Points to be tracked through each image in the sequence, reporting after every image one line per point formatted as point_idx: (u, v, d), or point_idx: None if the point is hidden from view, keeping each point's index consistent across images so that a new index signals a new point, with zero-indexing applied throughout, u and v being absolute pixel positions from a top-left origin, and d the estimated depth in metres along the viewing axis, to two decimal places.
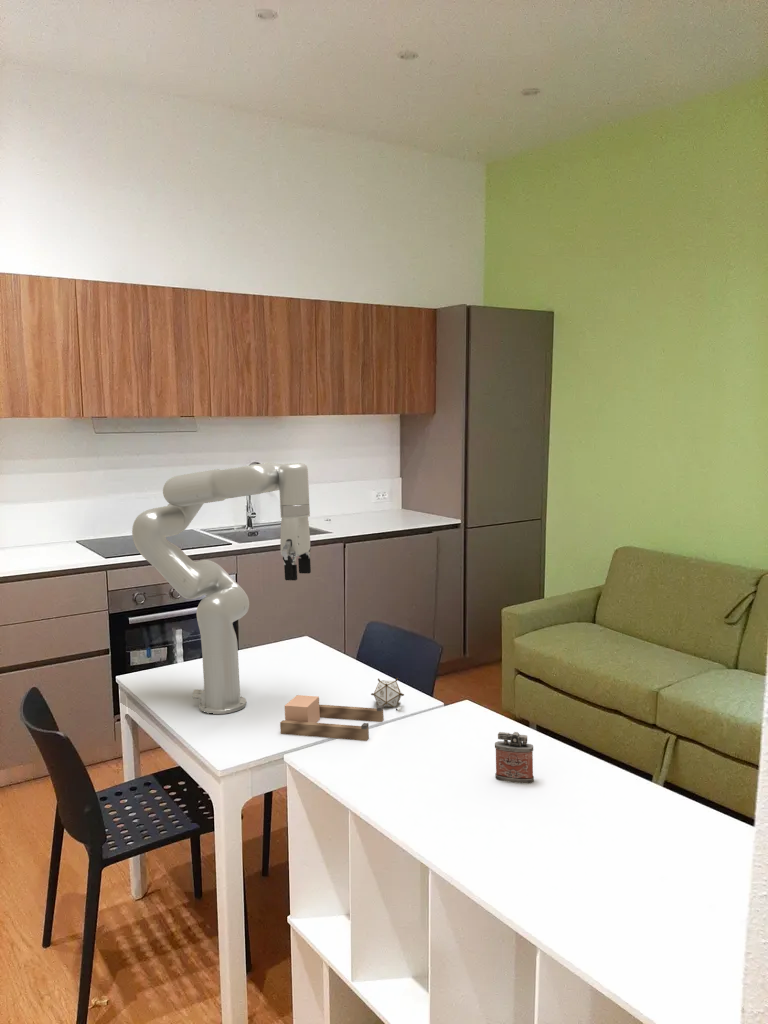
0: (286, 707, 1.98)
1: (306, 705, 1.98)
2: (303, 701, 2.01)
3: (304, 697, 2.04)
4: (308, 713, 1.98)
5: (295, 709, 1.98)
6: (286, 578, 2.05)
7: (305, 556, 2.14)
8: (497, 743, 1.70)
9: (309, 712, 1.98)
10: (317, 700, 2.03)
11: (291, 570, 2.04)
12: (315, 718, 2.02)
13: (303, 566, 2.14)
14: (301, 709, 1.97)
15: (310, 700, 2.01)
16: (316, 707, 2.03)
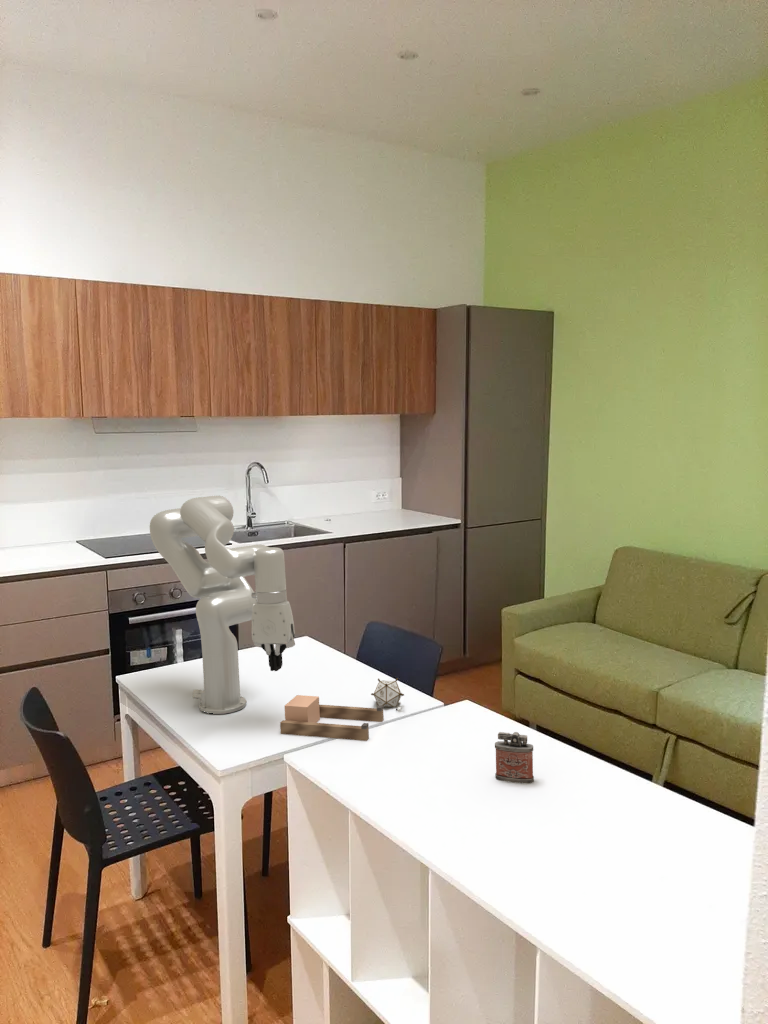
0: (286, 707, 1.98)
1: (306, 705, 1.98)
2: (303, 701, 2.01)
3: (304, 697, 2.04)
4: (308, 713, 1.98)
5: (295, 709, 1.98)
6: (276, 669, 2.01)
7: (274, 651, 2.02)
8: (497, 743, 1.70)
9: (309, 712, 1.98)
10: (317, 700, 2.03)
11: (281, 658, 2.02)
12: (315, 718, 2.02)
13: None
14: (301, 709, 1.97)
15: (310, 700, 2.01)
16: (316, 707, 2.03)
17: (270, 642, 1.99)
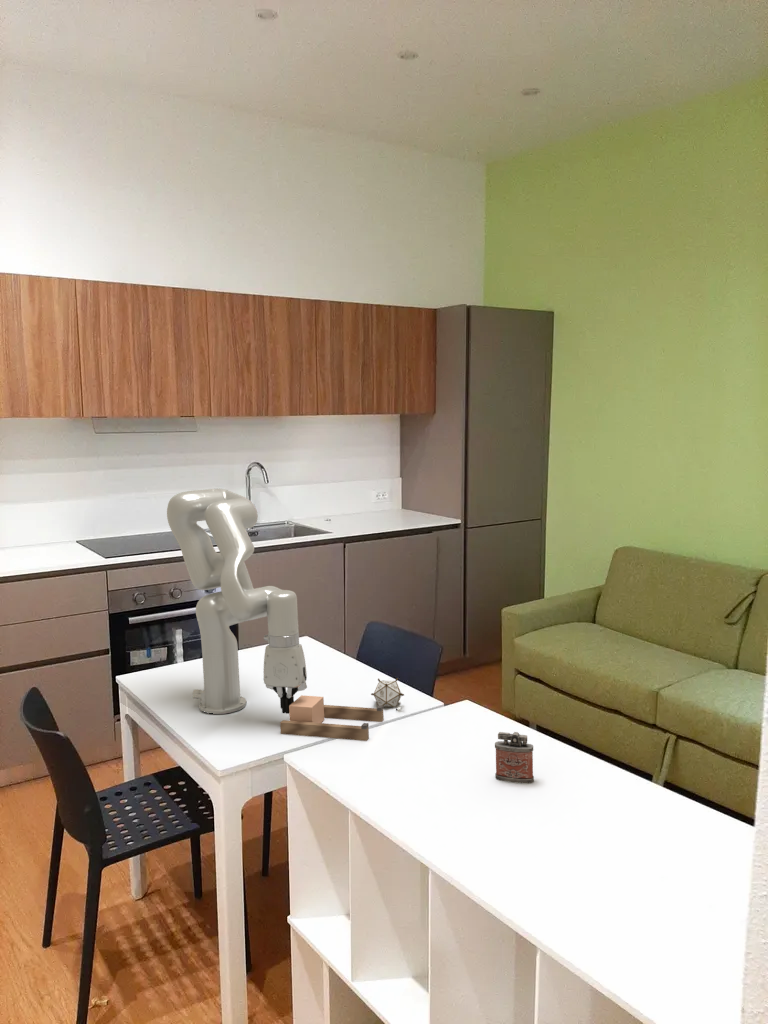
0: (291, 707, 1.98)
1: (311, 705, 1.98)
2: (307, 702, 2.00)
3: (308, 697, 2.04)
4: (313, 713, 1.97)
5: (299, 709, 1.97)
6: (288, 711, 2.01)
7: (286, 693, 2.03)
8: (497, 743, 1.70)
9: (313, 712, 1.98)
10: (322, 700, 2.03)
11: (293, 700, 2.03)
12: (319, 718, 2.02)
13: None
14: (305, 709, 1.97)
15: (315, 701, 2.01)
16: (321, 707, 2.02)
17: (282, 685, 1.99)
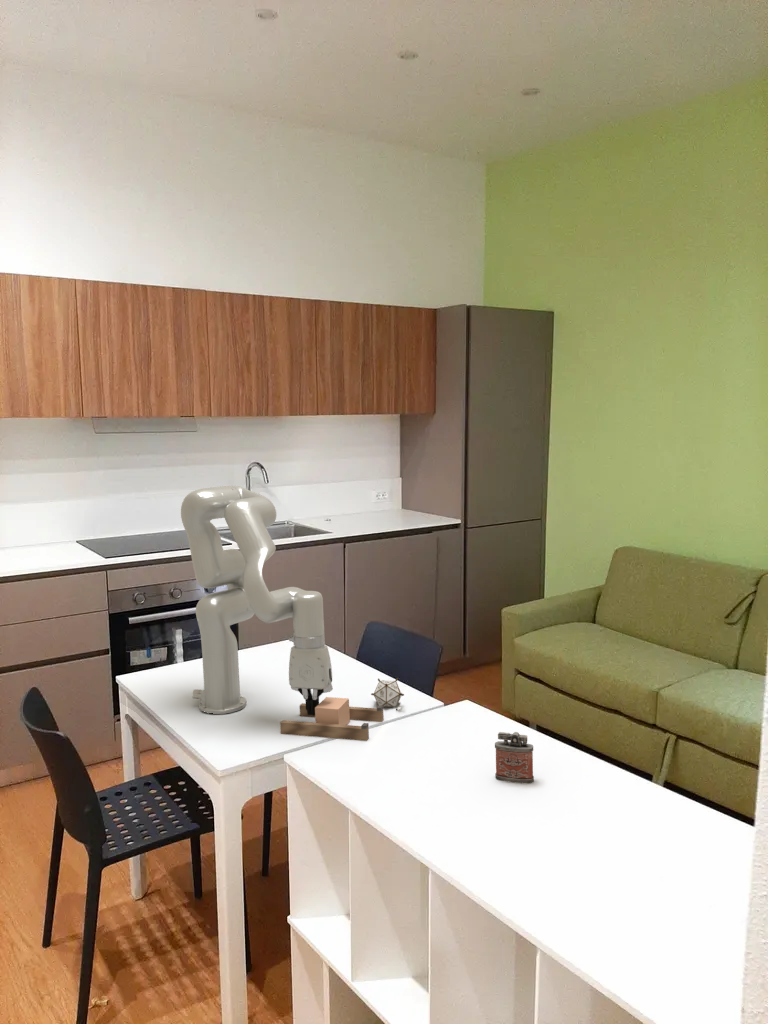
0: (316, 709, 1.96)
1: (337, 707, 1.96)
2: (333, 703, 1.99)
3: (334, 699, 2.02)
4: (339, 715, 1.95)
5: (325, 711, 1.96)
6: (313, 713, 2.00)
7: (311, 695, 2.01)
8: (497, 743, 1.70)
9: (339, 714, 1.96)
10: (347, 702, 2.01)
11: (318, 702, 2.01)
12: (345, 720, 2.00)
13: None
14: (331, 711, 1.95)
15: (340, 703, 1.99)
16: (346, 709, 2.00)
17: (308, 687, 1.97)
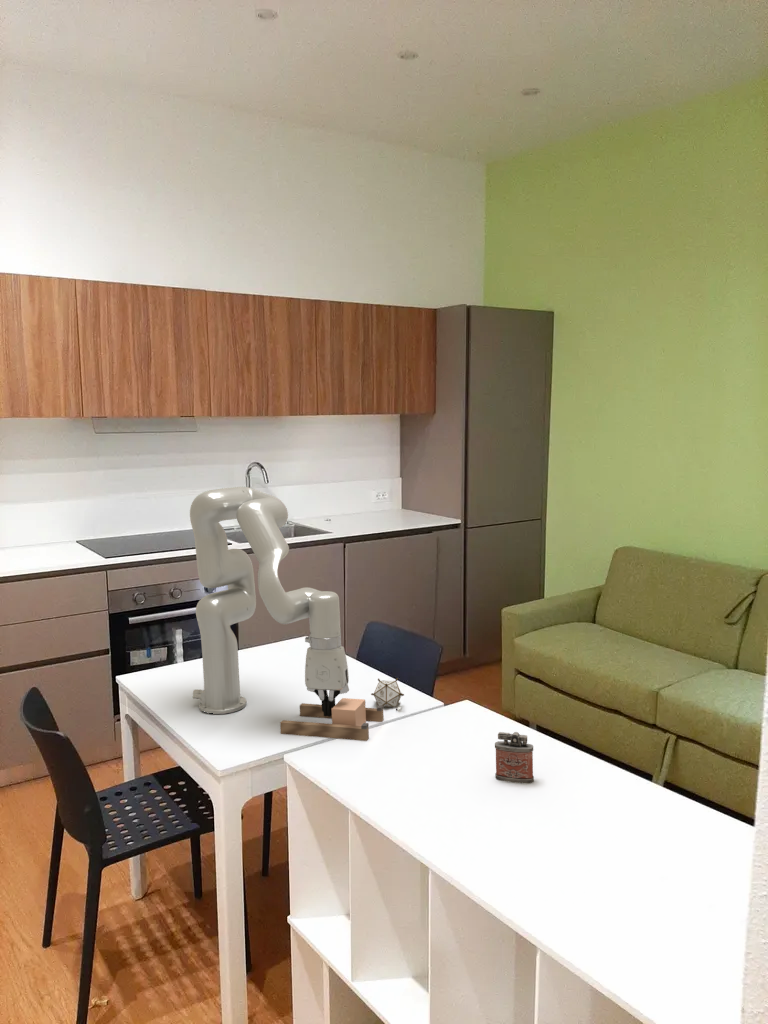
0: (333, 710, 1.95)
1: (354, 708, 1.95)
2: (349, 705, 1.97)
3: (350, 700, 2.01)
4: (356, 716, 1.94)
5: (342, 712, 1.94)
6: (330, 714, 1.98)
7: (327, 696, 2.00)
8: (497, 743, 1.70)
9: (356, 715, 1.95)
10: (363, 703, 2.00)
11: None
12: (362, 721, 1.98)
13: None
14: (348, 712, 1.94)
15: (357, 704, 1.98)
16: (363, 710, 1.99)
17: (324, 688, 1.96)
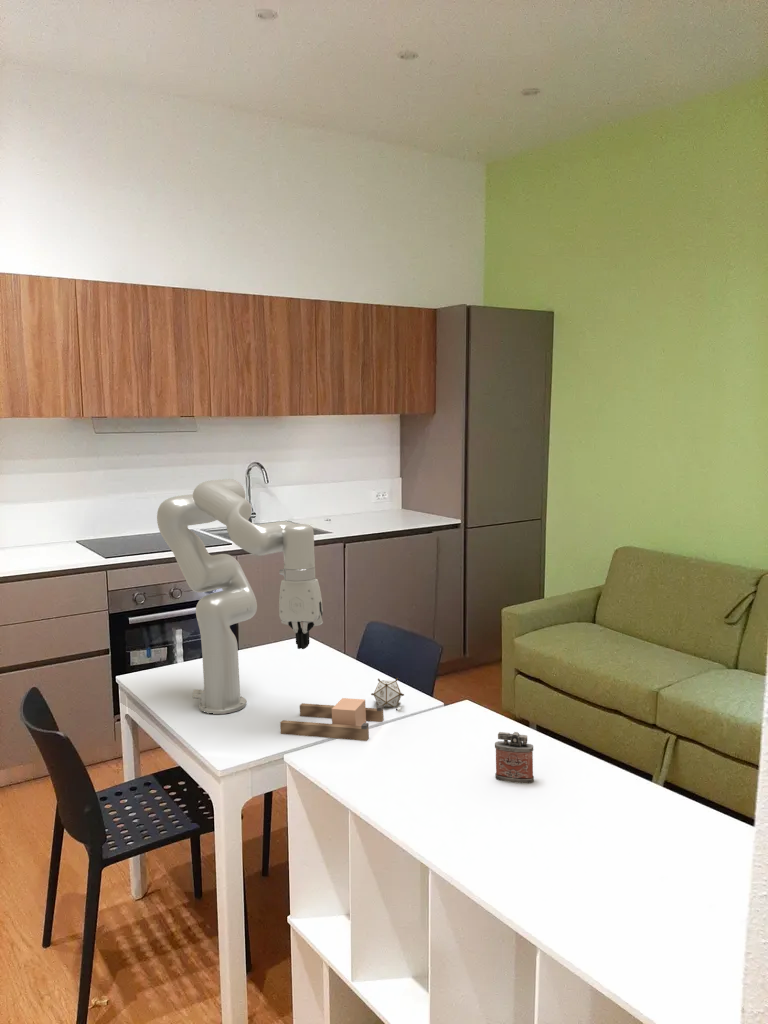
0: (333, 710, 1.95)
1: (354, 708, 1.95)
2: (349, 705, 1.97)
3: (350, 700, 2.01)
4: (356, 716, 1.94)
5: (342, 712, 1.94)
6: (303, 647, 1.99)
7: (301, 629, 2.00)
8: (497, 743, 1.70)
9: (356, 715, 1.95)
10: (363, 703, 2.00)
11: None
12: (362, 721, 1.98)
13: None
14: (348, 712, 1.94)
15: (357, 704, 1.98)
16: (363, 710, 1.99)
17: (298, 620, 1.96)
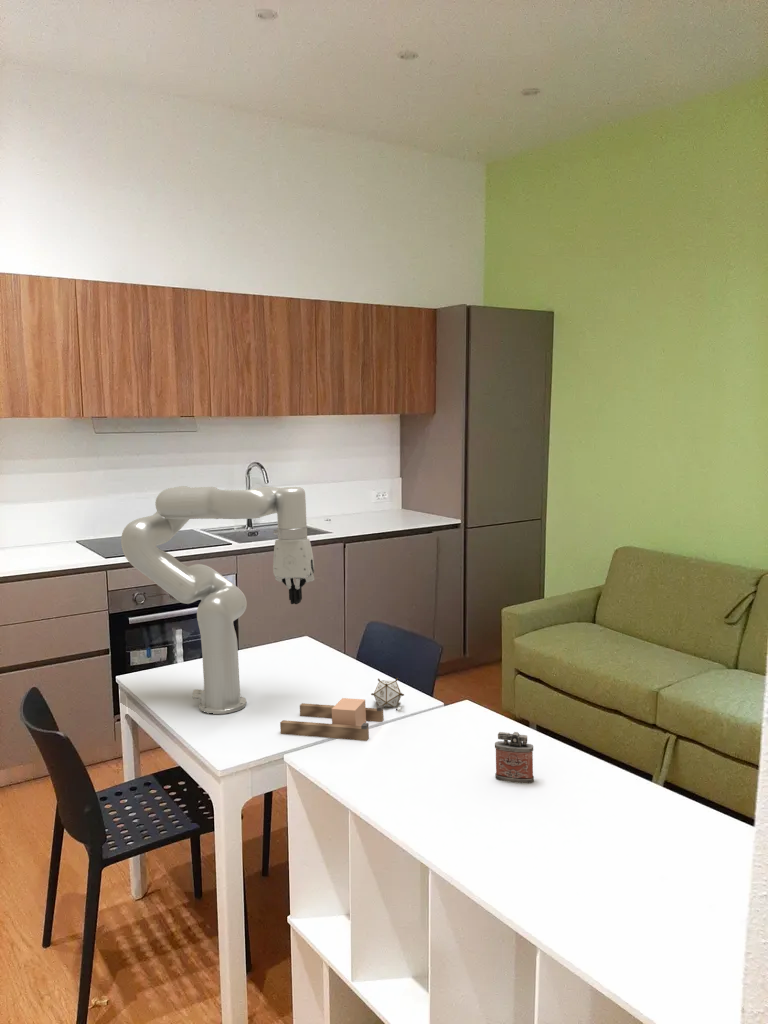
0: (333, 710, 1.95)
1: (354, 708, 1.95)
2: (349, 705, 1.97)
3: (350, 700, 2.01)
4: (356, 716, 1.94)
5: (342, 712, 1.94)
6: (296, 602, 2.12)
7: (294, 585, 2.13)
8: (497, 743, 1.70)
9: (356, 715, 1.95)
10: (363, 703, 2.00)
11: (301, 592, 2.13)
12: (362, 721, 1.98)
13: None
14: (348, 712, 1.94)
15: (357, 704, 1.98)
16: (363, 710, 1.99)
17: (291, 576, 2.10)
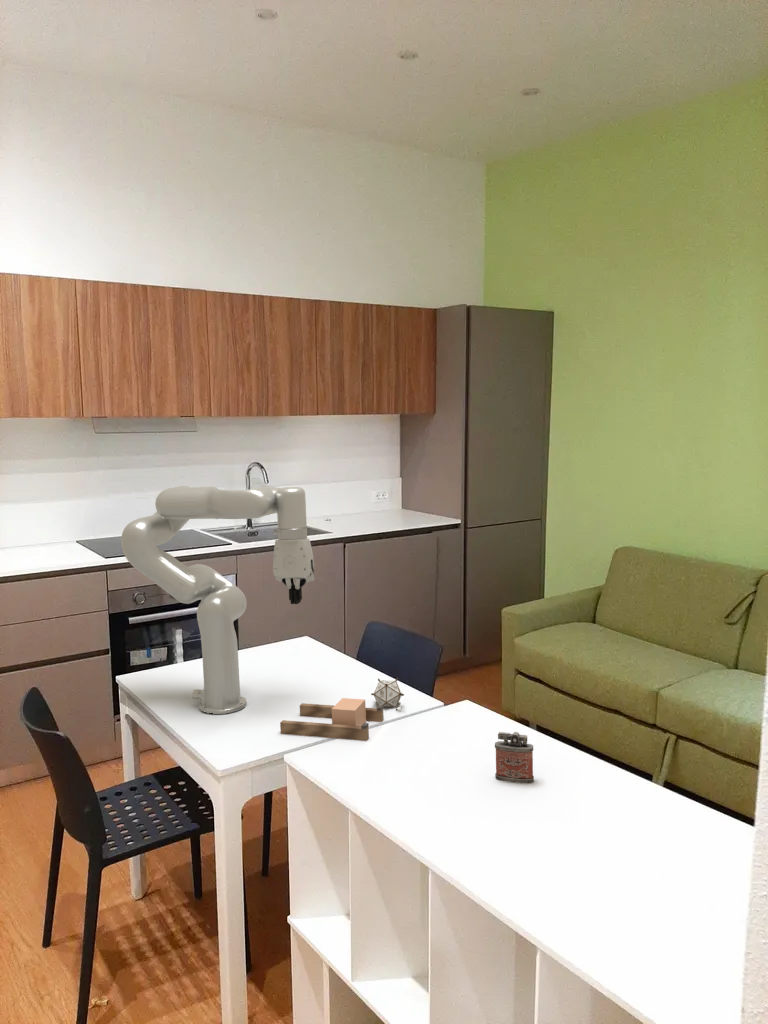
0: (333, 710, 1.95)
1: (354, 708, 1.95)
2: (349, 705, 1.97)
3: (350, 700, 2.01)
4: (356, 716, 1.94)
5: (342, 712, 1.94)
6: (296, 602, 2.12)
7: (294, 585, 2.13)
8: (497, 743, 1.70)
9: (356, 715, 1.95)
10: (363, 703, 2.00)
11: (301, 592, 2.13)
12: (362, 721, 1.98)
13: None
14: (348, 712, 1.94)
15: (357, 704, 1.98)
16: (363, 710, 1.99)
17: (291, 576, 2.10)
